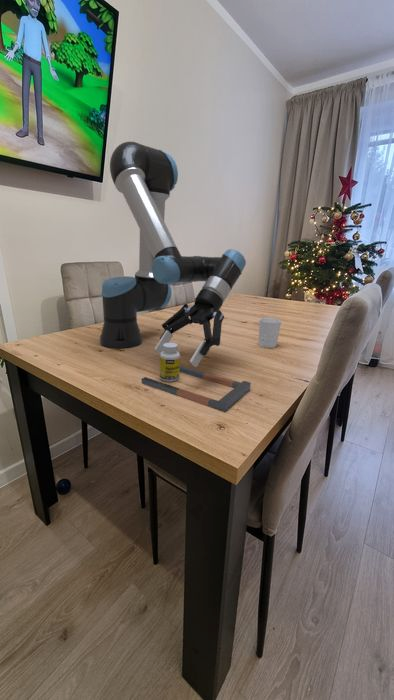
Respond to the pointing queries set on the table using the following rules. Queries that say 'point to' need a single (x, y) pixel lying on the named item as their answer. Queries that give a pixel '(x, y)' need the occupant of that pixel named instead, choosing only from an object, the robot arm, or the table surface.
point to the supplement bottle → (169, 362)
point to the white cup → (268, 332)
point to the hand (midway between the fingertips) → (174, 357)
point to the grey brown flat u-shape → (222, 404)
